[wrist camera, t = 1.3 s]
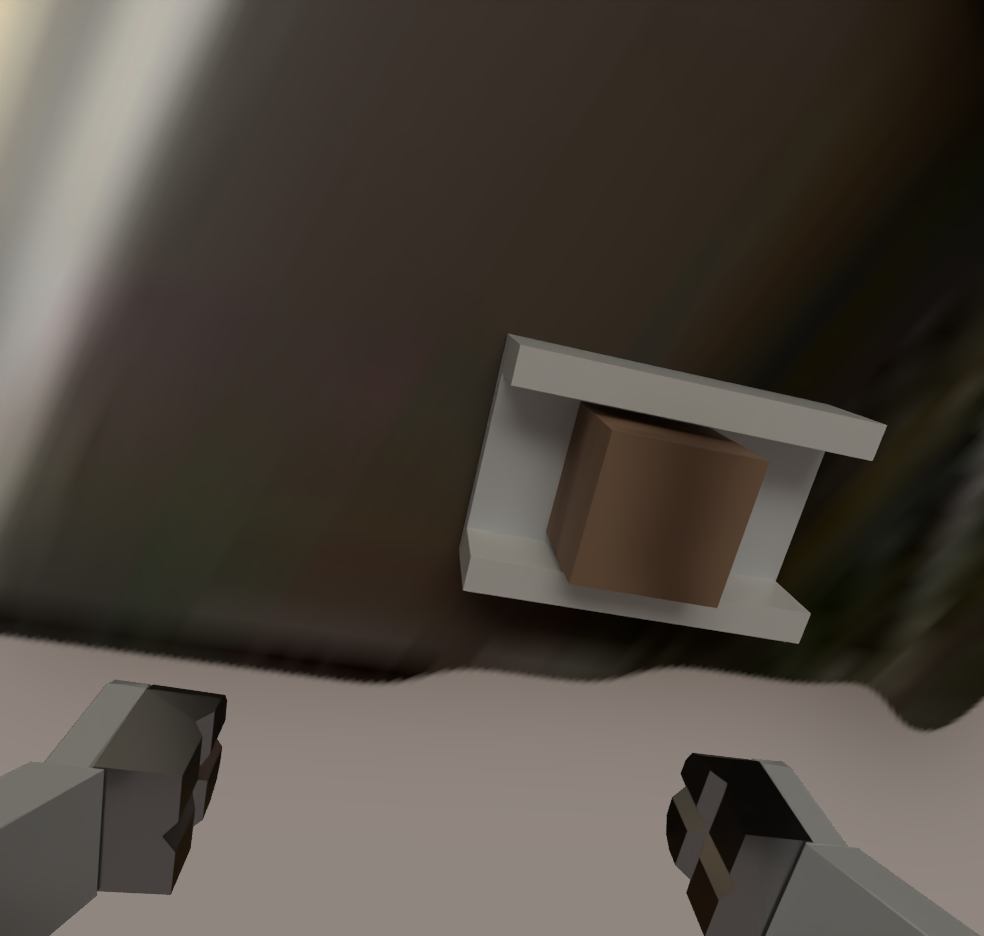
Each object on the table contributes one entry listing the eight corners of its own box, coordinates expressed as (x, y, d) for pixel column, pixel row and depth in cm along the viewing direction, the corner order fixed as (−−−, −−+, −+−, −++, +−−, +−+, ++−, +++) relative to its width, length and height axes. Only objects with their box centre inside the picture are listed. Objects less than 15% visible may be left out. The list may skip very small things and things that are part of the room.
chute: (459, 548, 30) (462, 590, 26) (507, 333, 27) (520, 344, 23) (755, 598, 32) (798, 643, 28) (827, 404, 29) (886, 425, 25)
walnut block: (546, 531, 29) (568, 583, 24) (580, 401, 27) (612, 430, 22) (671, 553, 30) (717, 608, 25) (712, 428, 28) (769, 462, 23)
